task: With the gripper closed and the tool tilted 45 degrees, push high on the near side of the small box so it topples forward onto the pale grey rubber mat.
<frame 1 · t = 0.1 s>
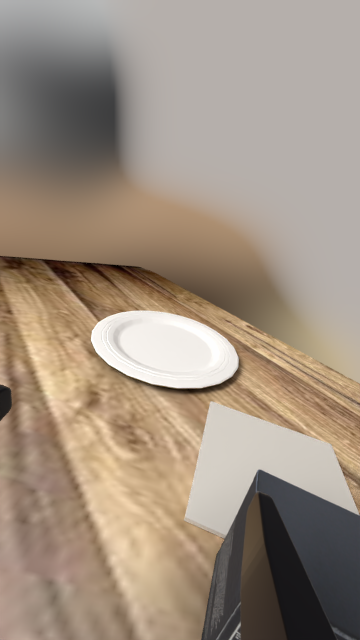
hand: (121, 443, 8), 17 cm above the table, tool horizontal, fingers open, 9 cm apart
mat: (272, 475, 27), on the table
plate: (166, 348, 49), on the table
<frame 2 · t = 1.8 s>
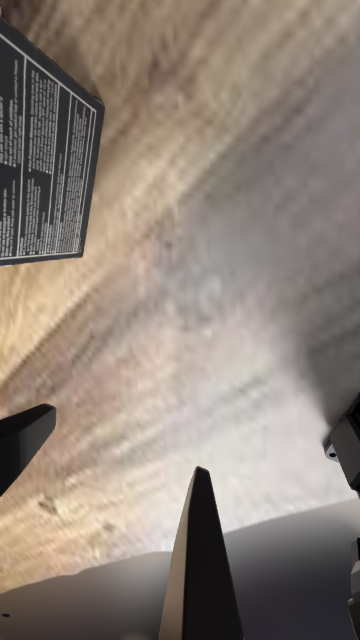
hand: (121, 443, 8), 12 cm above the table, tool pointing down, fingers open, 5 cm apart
small box: (59, 178, 18), on the table
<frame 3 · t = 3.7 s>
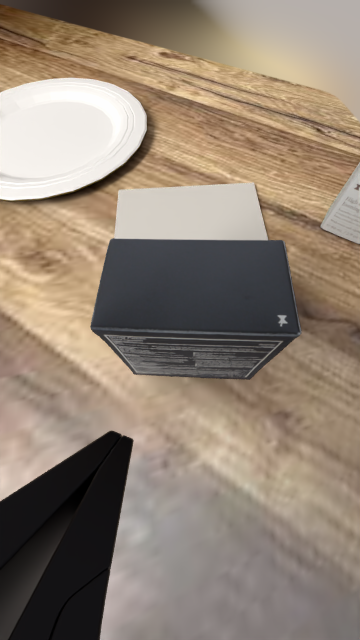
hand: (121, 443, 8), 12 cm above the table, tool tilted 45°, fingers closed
mat: (189, 238, 27), on the table
small box: (192, 343, 22), on the table
skincare box: (350, 228, 28), on the table
plate: (53, 143, 36), on the table
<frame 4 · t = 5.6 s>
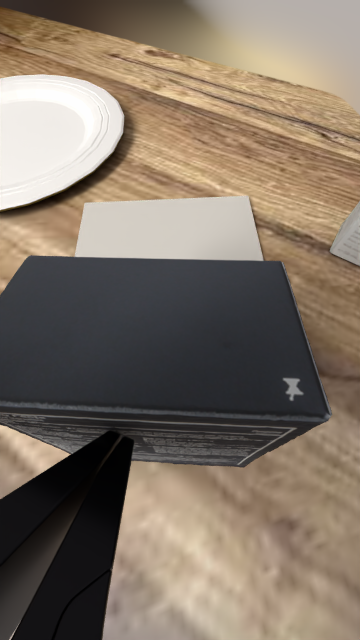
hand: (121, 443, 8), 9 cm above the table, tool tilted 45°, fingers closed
mat: (168, 264, 22), on the table
small box: (163, 408, 16), on the table, touching gripper
plate: (16, 146, 31), on the table
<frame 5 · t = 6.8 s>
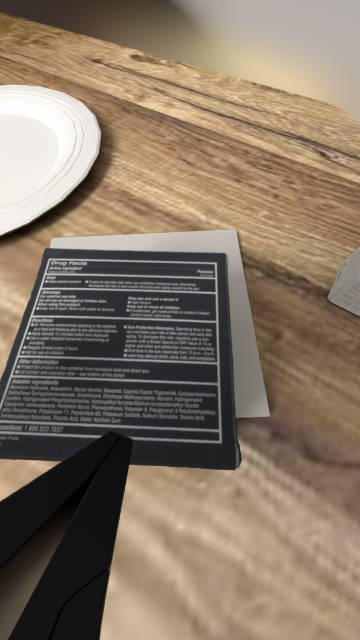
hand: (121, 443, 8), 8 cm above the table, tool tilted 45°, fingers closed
mat: (142, 313, 19), on the table
small box: (120, 461, 12), point 4 cm above the table, touching mat
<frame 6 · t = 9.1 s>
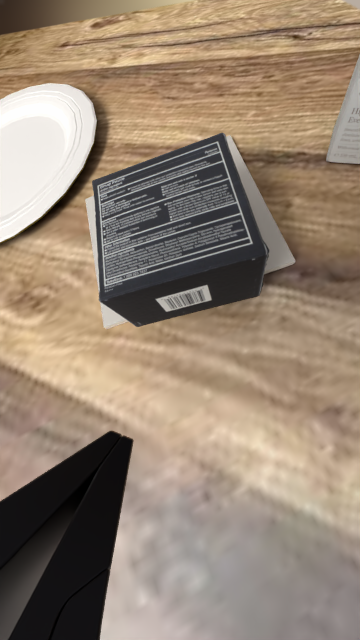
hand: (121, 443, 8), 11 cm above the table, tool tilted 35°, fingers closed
mat: (173, 227, 24), on the table
small box: (189, 302, 17), point 4 cm above the table, touching mat
plate: (12, 171, 34), on the table
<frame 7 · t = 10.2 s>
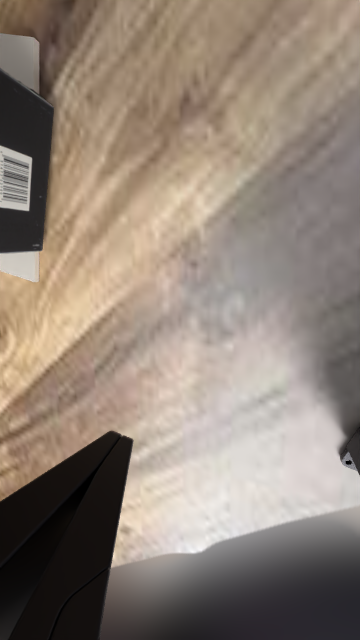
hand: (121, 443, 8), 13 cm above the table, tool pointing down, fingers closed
small box: (19, 178, 16), point 4 cm above the table, touching mat
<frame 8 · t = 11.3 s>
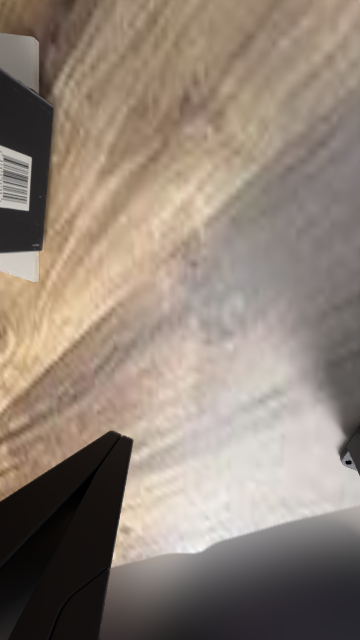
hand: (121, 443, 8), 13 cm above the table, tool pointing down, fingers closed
small box: (19, 178, 16), point 4 cm above the table, touching mat
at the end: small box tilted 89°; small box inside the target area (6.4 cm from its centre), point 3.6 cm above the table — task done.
